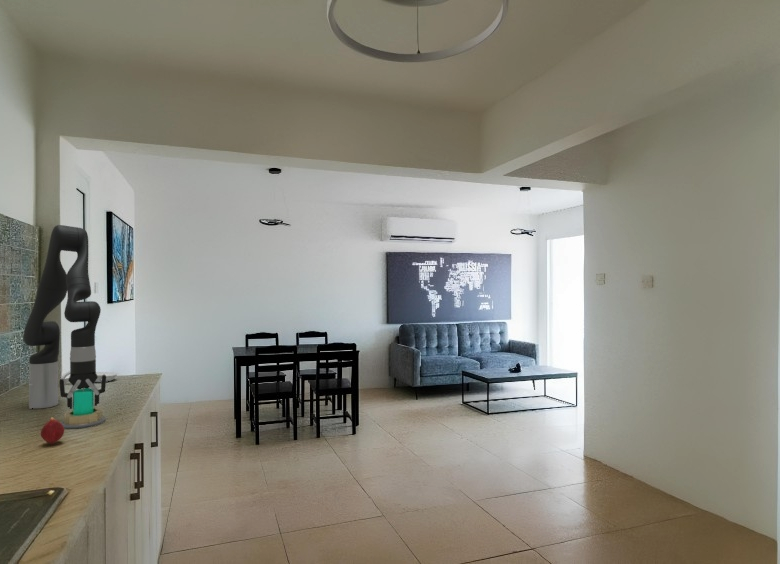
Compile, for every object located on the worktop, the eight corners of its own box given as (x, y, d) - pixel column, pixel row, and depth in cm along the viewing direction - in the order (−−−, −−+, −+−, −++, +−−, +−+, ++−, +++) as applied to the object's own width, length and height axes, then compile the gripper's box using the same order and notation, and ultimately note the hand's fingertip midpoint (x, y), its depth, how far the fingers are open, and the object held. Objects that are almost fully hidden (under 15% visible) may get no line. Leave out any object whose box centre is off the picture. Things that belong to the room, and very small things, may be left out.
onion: (68, 441, 150) (68, 416, 150) (50, 448, 144) (50, 421, 144) (55, 439, 152) (54, 414, 152) (36, 446, 146) (36, 419, 146)
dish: (60, 431, 160) (60, 428, 160) (61, 421, 171) (61, 418, 171) (106, 424, 167) (106, 422, 167) (104, 416, 178) (104, 413, 178)
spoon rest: (115, 378, 247) (115, 364, 247) (118, 382, 238) (118, 367, 238) (59, 384, 234) (59, 369, 234) (60, 388, 224) (60, 373, 224)
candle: (78, 423, 165) (78, 388, 165) (69, 420, 168) (69, 386, 168) (96, 419, 170) (96, 385, 170) (88, 416, 173) (88, 383, 173)
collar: (64, 427, 162) (63, 418, 162) (64, 419, 171) (64, 410, 171) (102, 421, 168) (102, 413, 168) (101, 414, 177) (101, 406, 177)
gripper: (106, 355, 176) (106, 401, 176) (58, 359, 168) (58, 407, 169) (107, 358, 170) (107, 406, 170) (57, 362, 162) (57, 412, 162)
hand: (83, 406), depth 169 cm, fingers open, 6 cm apart
